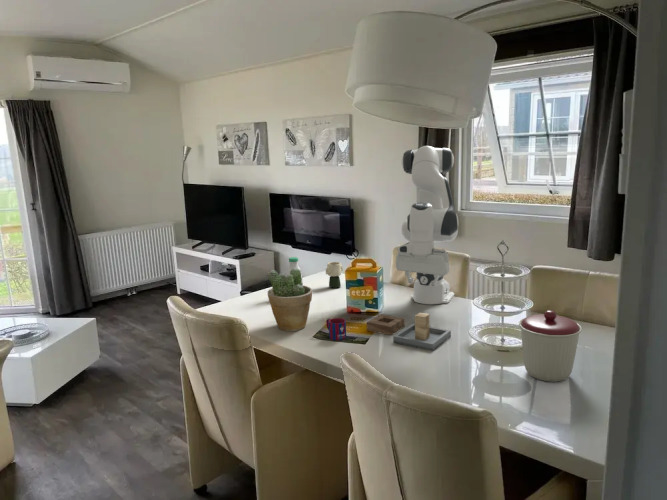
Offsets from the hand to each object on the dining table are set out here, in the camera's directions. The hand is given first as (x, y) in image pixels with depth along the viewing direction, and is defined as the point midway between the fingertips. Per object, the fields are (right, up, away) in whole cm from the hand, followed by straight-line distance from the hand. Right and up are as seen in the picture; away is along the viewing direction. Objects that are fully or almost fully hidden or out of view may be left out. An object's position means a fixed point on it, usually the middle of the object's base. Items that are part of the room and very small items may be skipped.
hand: (422, 284), depth 194 cm
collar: (-12, -19, +18) cm, 28 cm away
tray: (+1, -21, +4) cm, 22 cm away
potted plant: (-50, -19, +24) cm, 59 cm away
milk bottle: (-52, -11, +66) cm, 85 cm away
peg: (+1, -20, +4) cm, 21 cm away
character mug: (-32, -7, +81) cm, 88 cm away
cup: (-32, -21, +12) cm, 40 cm away
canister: (+35, -27, -29) cm, 53 cm away
